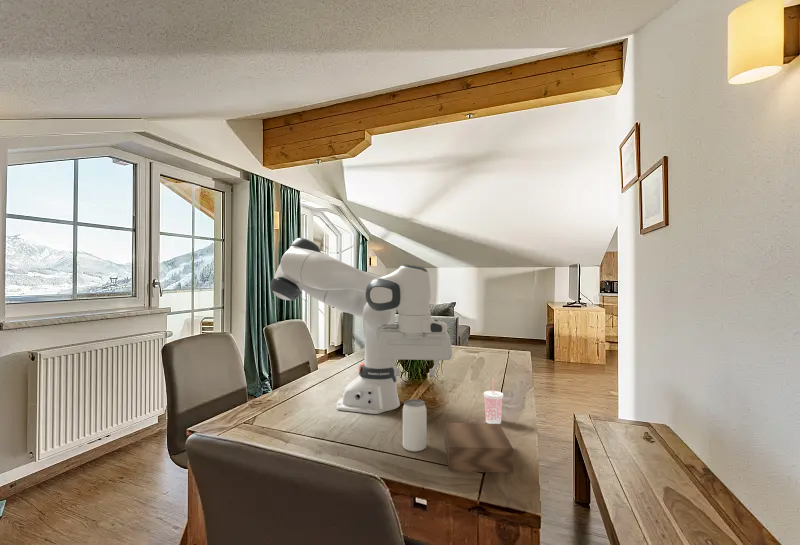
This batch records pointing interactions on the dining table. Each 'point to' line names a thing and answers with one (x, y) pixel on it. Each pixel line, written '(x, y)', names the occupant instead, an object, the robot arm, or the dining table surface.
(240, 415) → the dining table surface
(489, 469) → the riser block
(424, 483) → the dining table surface
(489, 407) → the beverage cup
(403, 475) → the dining table surface
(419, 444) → the can
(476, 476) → the dining table surface
